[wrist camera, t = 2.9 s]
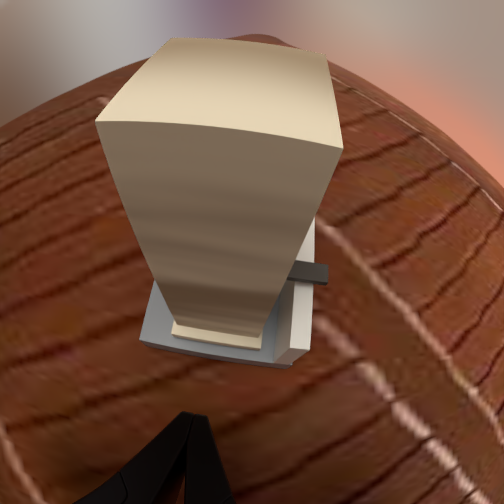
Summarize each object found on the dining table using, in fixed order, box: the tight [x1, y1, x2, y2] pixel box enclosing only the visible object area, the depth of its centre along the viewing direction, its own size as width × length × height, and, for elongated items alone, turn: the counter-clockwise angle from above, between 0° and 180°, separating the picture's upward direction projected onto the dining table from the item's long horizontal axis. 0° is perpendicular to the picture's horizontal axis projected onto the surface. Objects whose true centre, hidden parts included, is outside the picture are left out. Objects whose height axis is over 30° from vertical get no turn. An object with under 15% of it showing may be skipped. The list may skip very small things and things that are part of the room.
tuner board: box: [139, 217, 315, 369], centre depth 18 cm, size 17×8×6 cm, turn 173°
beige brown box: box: [95, 38, 343, 351], centre depth 10 cm, size 5×6×12 cm
